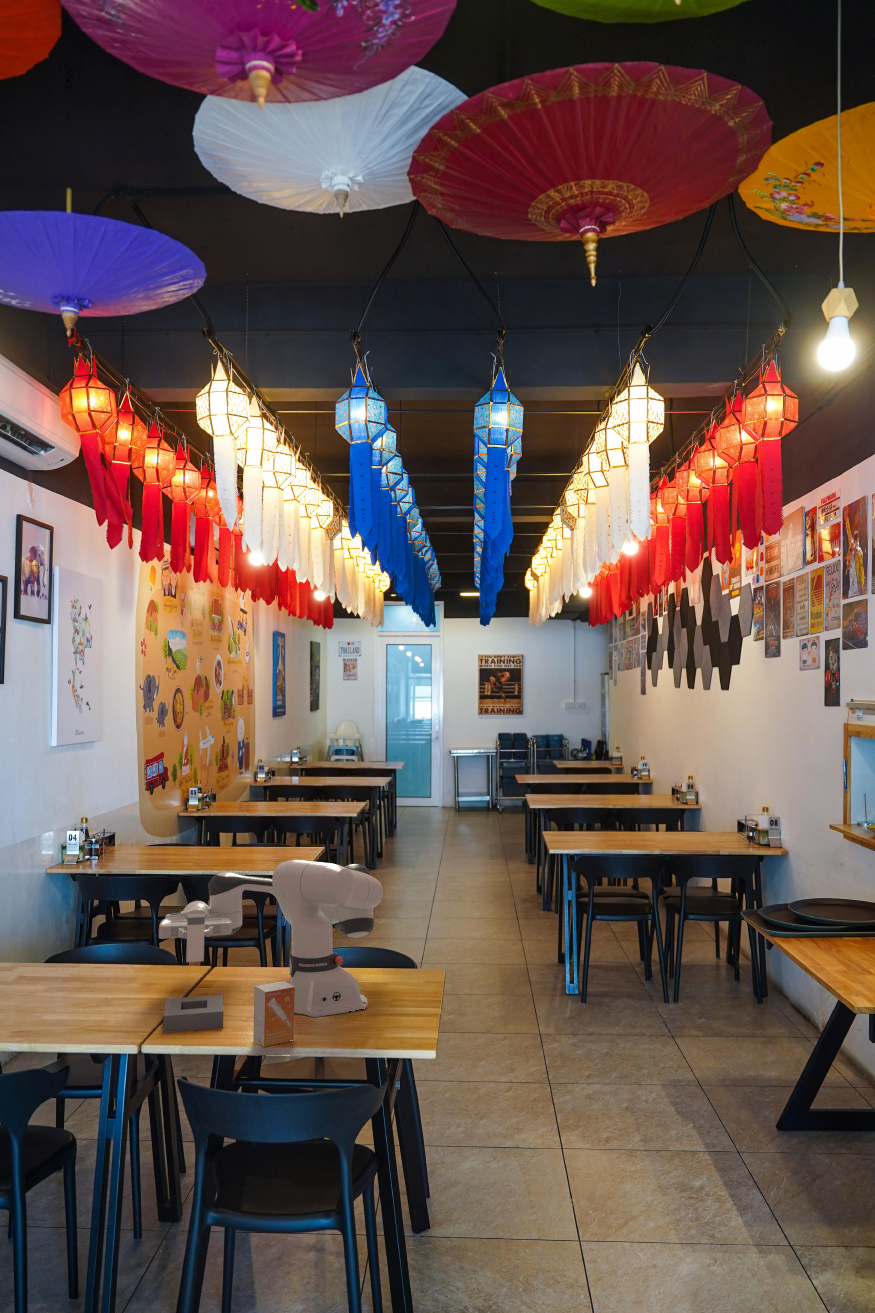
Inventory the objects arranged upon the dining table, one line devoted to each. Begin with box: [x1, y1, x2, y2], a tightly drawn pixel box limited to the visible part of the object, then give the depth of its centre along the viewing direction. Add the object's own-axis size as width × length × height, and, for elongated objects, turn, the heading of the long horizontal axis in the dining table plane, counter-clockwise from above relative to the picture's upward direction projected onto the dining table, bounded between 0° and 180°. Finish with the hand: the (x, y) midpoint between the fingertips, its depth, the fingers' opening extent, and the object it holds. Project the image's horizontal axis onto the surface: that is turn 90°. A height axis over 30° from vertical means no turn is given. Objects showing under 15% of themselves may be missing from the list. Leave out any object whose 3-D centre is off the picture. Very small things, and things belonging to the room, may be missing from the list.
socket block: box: [162, 994, 225, 1033], centre depth 231 cm, size 15×15×4 cm
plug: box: [186, 914, 205, 963], centre depth 247 cm, size 5×5×12 cm
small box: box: [252, 980, 295, 1048], centre depth 216 cm, size 8×6×13 cm
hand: (195, 934), depth 246 cm, fingers closed on plug, 5 cm apart
